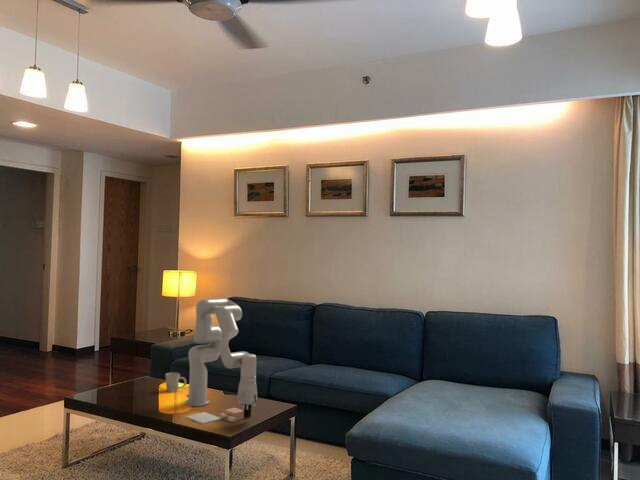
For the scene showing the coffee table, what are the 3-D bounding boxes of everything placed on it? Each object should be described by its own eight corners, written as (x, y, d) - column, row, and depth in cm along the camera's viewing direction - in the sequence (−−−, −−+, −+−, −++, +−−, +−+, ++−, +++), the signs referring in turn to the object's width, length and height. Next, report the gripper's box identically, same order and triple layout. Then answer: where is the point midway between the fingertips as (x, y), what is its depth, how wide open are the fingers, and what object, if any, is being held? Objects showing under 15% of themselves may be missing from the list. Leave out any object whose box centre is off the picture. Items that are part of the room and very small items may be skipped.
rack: (219, 417, 259) (219, 413, 259) (235, 413, 267) (236, 409, 267) (233, 422, 252) (233, 418, 252) (249, 418, 260) (249, 414, 260)
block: (224, 417, 260) (225, 409, 260) (234, 415, 264) (234, 407, 265) (234, 421, 255) (235, 413, 255) (244, 418, 259) (244, 410, 259)
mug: (166, 389, 311) (166, 372, 312) (187, 389, 313) (188, 372, 313) (163, 392, 303) (164, 375, 303) (185, 392, 304) (186, 375, 305)
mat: (186, 417, 258) (186, 416, 258) (204, 413, 266) (204, 411, 266) (202, 424, 248) (202, 422, 248) (221, 419, 256) (221, 418, 256)
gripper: (232, 378, 256) (231, 415, 255) (252, 383, 246) (251, 422, 245) (244, 376, 262) (243, 412, 261) (264, 381, 252) (263, 418, 251)
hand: (247, 417), depth 253 cm, fingers closed
